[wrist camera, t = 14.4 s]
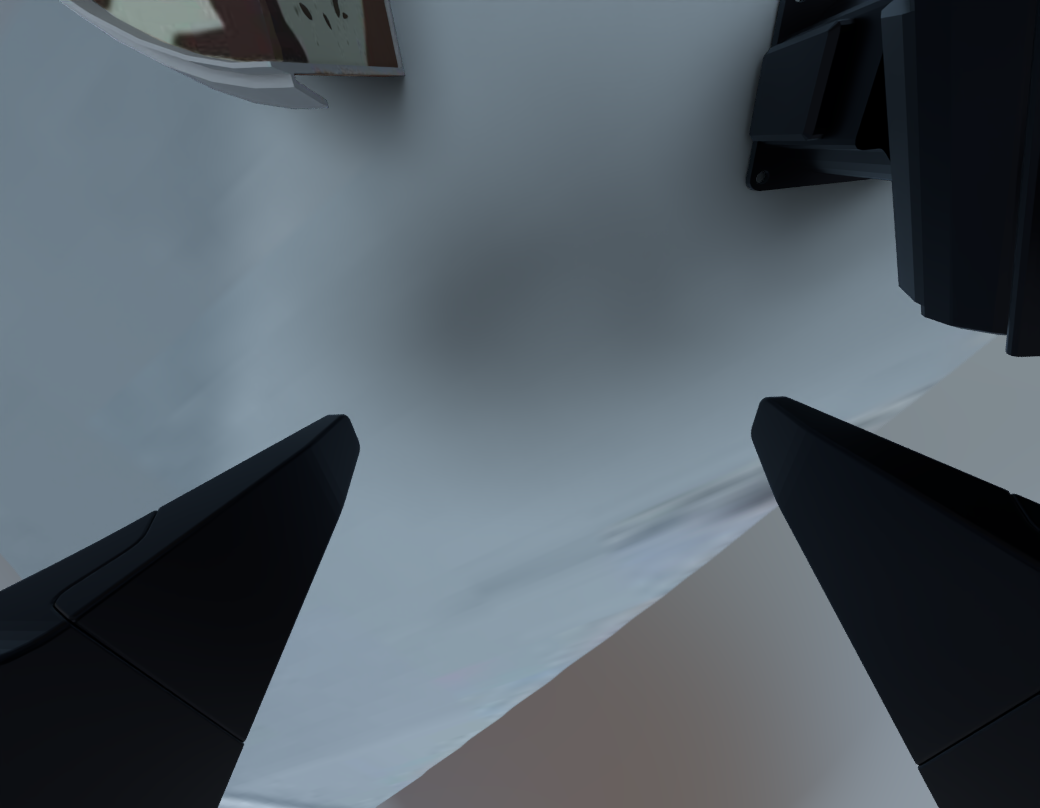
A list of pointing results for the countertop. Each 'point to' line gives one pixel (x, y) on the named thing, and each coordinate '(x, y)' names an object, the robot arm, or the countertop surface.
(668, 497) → the countertop surface
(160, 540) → the robot arm
